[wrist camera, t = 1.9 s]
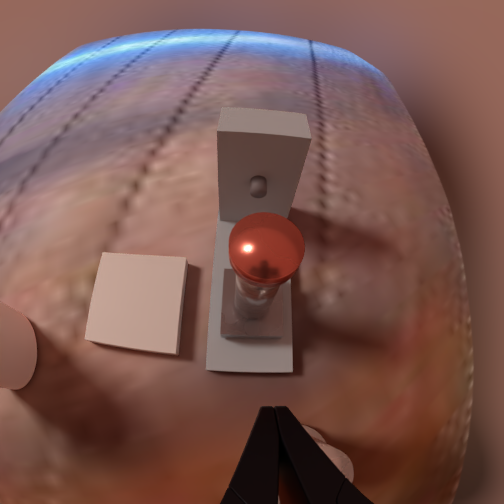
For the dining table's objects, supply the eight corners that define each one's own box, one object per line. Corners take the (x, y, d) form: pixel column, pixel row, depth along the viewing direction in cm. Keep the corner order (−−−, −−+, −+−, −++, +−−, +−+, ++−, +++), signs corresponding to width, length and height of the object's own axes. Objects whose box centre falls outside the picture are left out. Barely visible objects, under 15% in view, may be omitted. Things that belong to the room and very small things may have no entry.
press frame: (289, 372, 20) (345, 357, 10) (89, 353, 19) (3, 317, 9) (284, 205, 27) (308, 114, 18) (125, 199, 26) (92, 115, 17)
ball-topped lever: (280, 339, 20) (319, 298, 11) (220, 337, 19) (212, 294, 11) (279, 278, 22) (310, 202, 13) (224, 275, 22) (221, 196, 13)
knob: (335, 460, 16) (376, 482, 10) (274, 496, 14) (291, 534, 8) (301, 409, 18) (333, 418, 12) (236, 445, 17) (239, 472, 10)
